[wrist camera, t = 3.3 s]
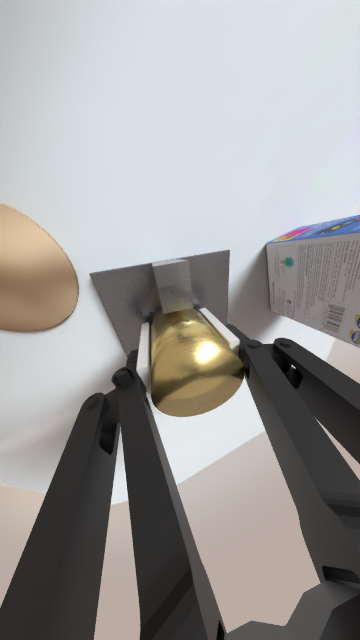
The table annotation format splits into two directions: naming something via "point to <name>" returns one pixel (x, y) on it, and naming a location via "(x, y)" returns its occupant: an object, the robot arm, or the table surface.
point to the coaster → (33, 275)
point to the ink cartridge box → (318, 277)
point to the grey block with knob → (163, 291)
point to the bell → (190, 365)
